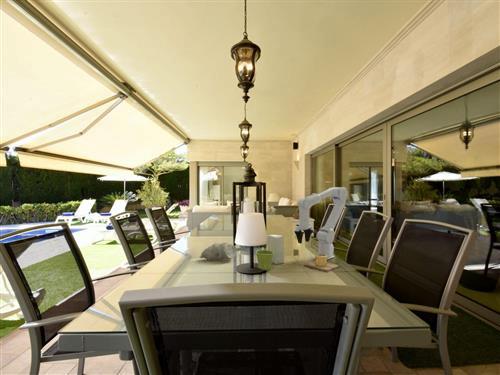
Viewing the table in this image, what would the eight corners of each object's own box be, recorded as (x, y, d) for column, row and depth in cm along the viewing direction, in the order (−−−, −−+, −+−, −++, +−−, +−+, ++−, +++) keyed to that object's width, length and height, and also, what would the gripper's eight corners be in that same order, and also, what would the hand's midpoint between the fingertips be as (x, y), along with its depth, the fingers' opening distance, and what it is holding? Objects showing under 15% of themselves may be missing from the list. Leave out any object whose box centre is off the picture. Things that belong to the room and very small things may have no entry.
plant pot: (268, 273, 137) (268, 255, 137) (251, 269, 142) (251, 252, 142) (276, 268, 144) (277, 251, 144) (260, 265, 149) (261, 249, 149)
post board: (316, 261, 160) (316, 254, 160) (339, 267, 150) (339, 259, 150) (303, 266, 151) (303, 258, 151) (327, 272, 141) (327, 264, 141)
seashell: (198, 261, 155) (198, 243, 155) (214, 255, 168) (214, 239, 168) (223, 265, 147) (223, 246, 147) (237, 259, 160) (237, 242, 160)
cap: (315, 265, 149) (316, 255, 149) (316, 262, 154) (316, 253, 154) (326, 266, 147) (326, 256, 147) (326, 263, 152) (327, 253, 152)
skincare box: (284, 263, 155) (285, 236, 155) (275, 264, 152) (276, 237, 152) (274, 259, 162) (275, 233, 162) (266, 260, 159) (267, 234, 159)
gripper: (305, 217, 172) (304, 239, 173) (291, 219, 162) (290, 242, 162) (315, 218, 168) (314, 241, 168) (301, 220, 157) (300, 244, 157)
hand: (303, 242), depth 165 cm, fingers open, 7 cm apart
